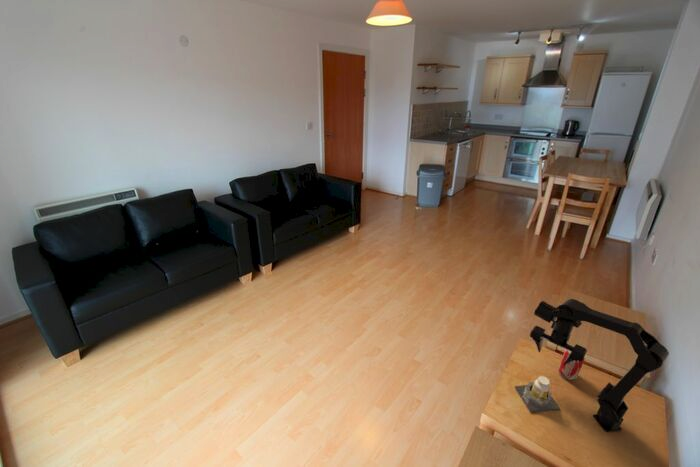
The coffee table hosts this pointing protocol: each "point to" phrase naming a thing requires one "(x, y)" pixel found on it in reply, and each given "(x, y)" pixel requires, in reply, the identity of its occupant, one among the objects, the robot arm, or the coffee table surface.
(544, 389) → the supplement bottle
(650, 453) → the coffee table surface
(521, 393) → the collar
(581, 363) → the soda can
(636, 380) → the robot arm
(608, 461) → the coffee table surface
